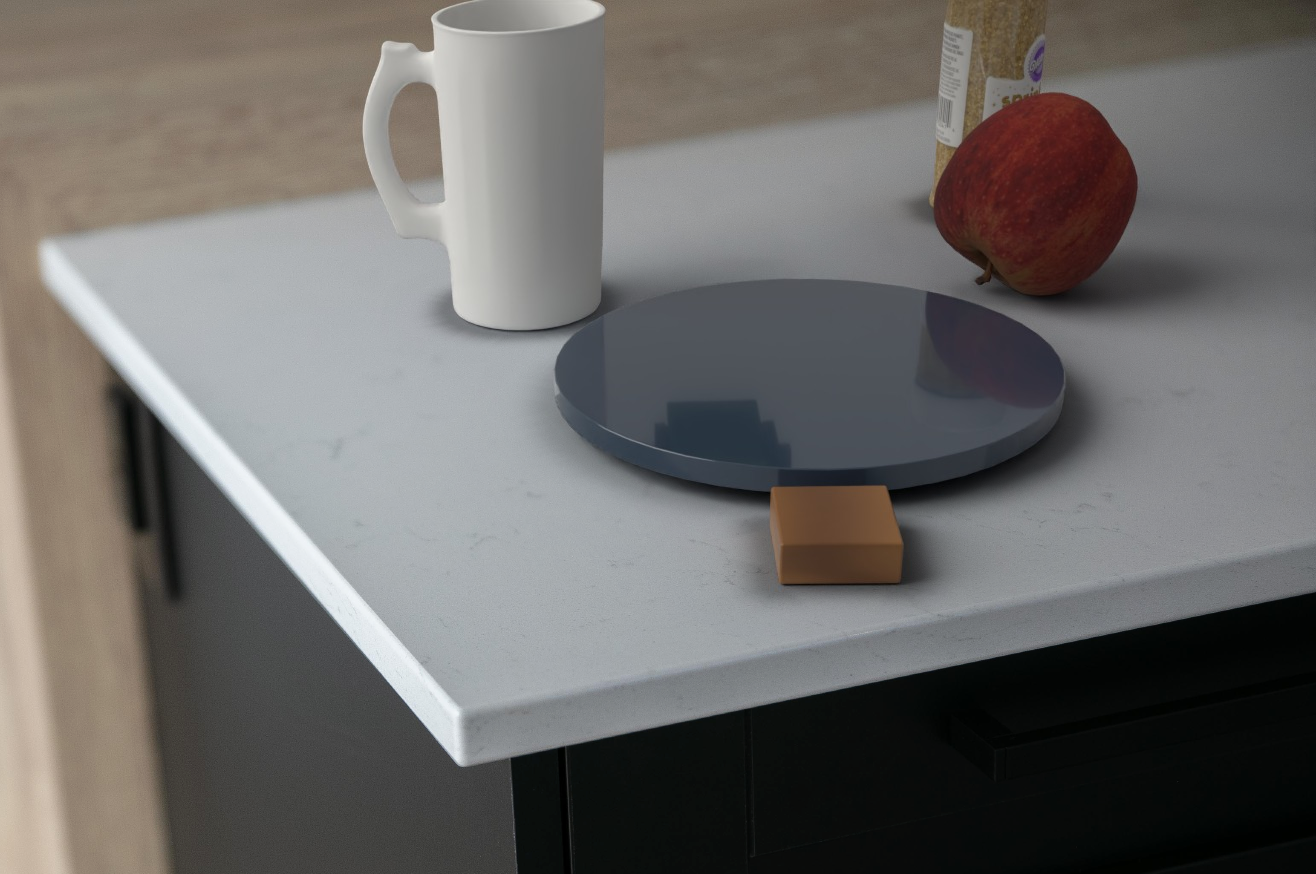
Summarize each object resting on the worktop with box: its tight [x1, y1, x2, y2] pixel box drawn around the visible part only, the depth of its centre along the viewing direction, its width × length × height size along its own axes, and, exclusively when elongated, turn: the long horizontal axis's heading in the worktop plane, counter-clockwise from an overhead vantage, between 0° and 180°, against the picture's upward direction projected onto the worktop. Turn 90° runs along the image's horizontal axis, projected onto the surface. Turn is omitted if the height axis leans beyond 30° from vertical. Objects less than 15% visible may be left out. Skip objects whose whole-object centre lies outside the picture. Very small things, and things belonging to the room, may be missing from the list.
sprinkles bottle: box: [928, 0, 1049, 208], centre depth 83 cm, size 5×5×14 cm
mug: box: [362, 0, 607, 331], centre depth 76 cm, size 10×7×12 cm, turn 74°
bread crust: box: [769, 486, 905, 585], centre depth 57 cm, size 4×4×1 cm
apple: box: [932, 91, 1139, 296], centre depth 74 cm, size 7×8×8 cm
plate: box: [553, 278, 1066, 493], centre depth 68 cm, size 18×18×2 cm
